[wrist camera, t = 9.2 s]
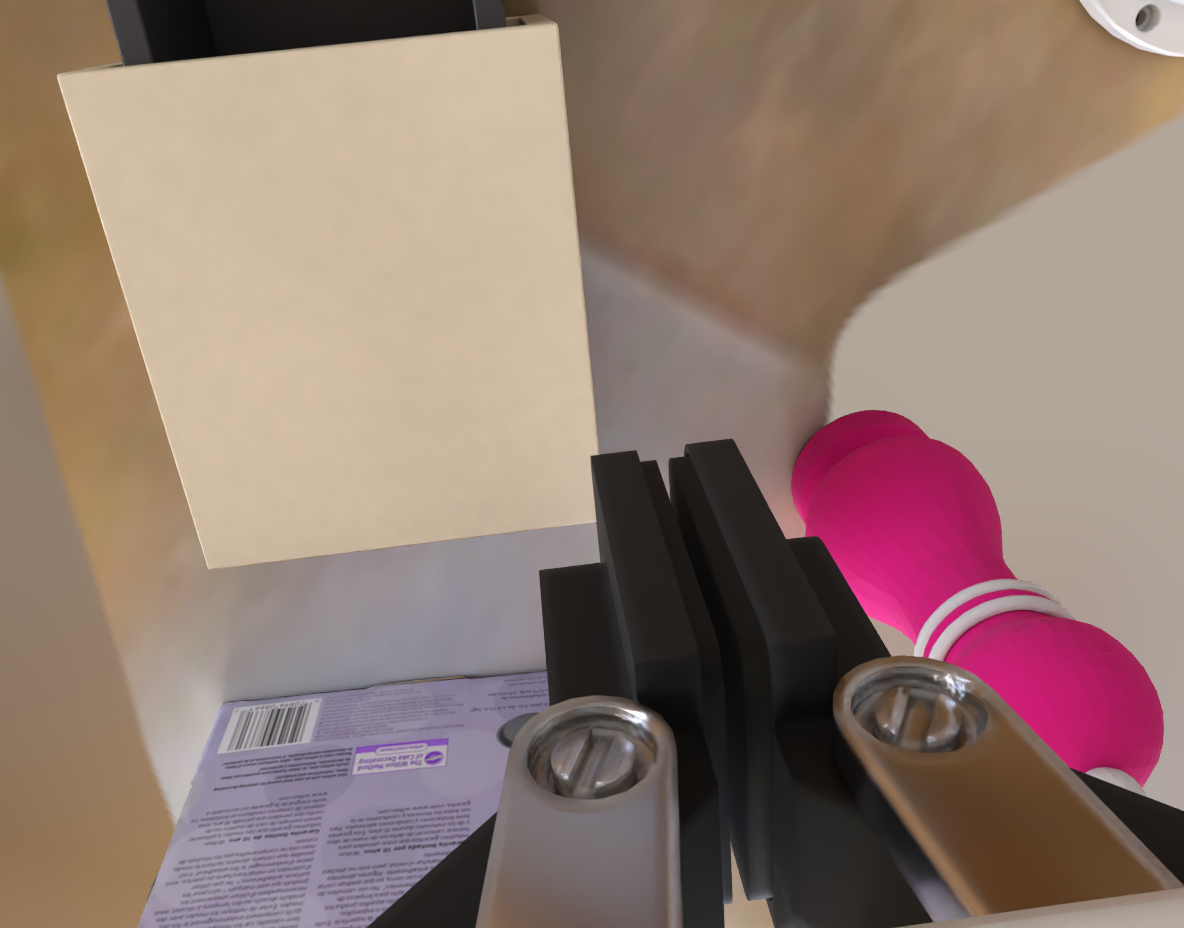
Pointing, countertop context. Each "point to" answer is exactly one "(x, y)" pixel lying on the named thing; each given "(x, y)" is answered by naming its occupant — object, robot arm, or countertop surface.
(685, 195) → the countertop surface
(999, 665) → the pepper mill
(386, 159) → the cream drawer cabinet
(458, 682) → the cake pan box
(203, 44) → the black drawer
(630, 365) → the countertop surface
